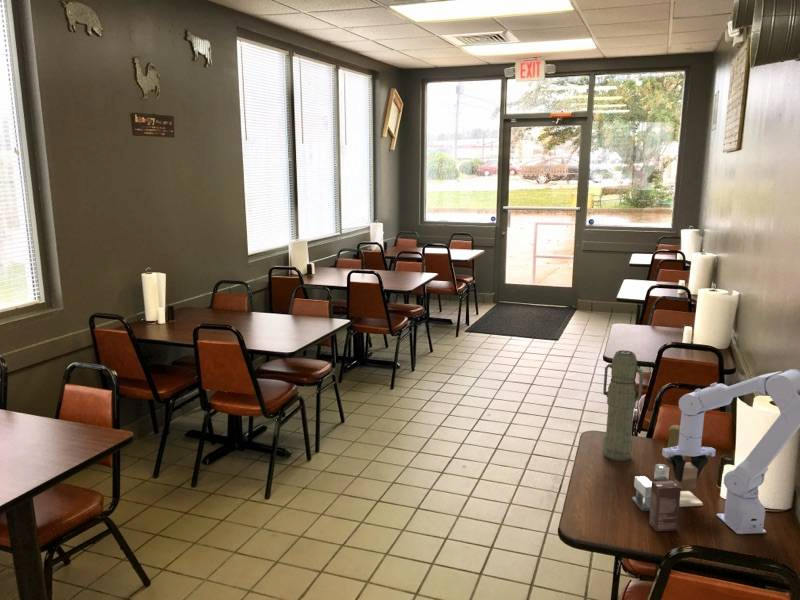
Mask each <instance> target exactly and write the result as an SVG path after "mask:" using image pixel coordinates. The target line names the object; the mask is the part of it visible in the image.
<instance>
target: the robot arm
mask: <svg viewBox="0 0 800 600" xmlns="http://www.w3.org/2000/svg"><path fill="white" fill-rule="evenodd" d="M709 385H710V386H707V387H705V388H702V389H701V388H699V387H698V388H696V389H694V391H692V392H690V393H685V394H684V395H683V396H682V395H681V397H679V399H678V408H679V410H680V411H681V416H680V424H679V426H680V433H679V443H678V446H675V447H670V448H667V447H665V448H662V453H661V455H662V456H663V457H664V458H665V459H666V458H670V460H671V461H670V460H669V461H670V462H671V465H672V469H673V474H674V480H675V479H676V480H677V481H678V482H681V480H682V474H683V469H684V466H685V463H686V460H685V461H684V460H683V458H682V456H685V457H690V463H692V464H693V465H694V466H695V467H697V468H698V471H697V480H696V482H697V481H698V479H699V476H700V474H701V472H702V471H703V469H704V467H705V466H706V465H707V464H708V463H709V458H708V457H709V456H710V457H715V456H716V449H715V448H713V447H712V446H711V447H710V446H702V441H703V439H702V438H703V430H704V420H705V413H706V411H711V410H715V409H717V408H720V407H725V406H728V405H730V404H731V403H732V402H733V399H734V398H737V397H742V396H745V395H749V394H752V393H756V392H758V393H760V394H762V395H763V396H767V395H768V396H769V397H770V398H771V400H772V402H773V403H774V404H775V406H776V407H777V408H778V410H779V413H780V414H779V416H778V417H777V418H776V419H775V420H774V422H773V423H772V424H771V425H770V427H769V428H768V429H767V430H766V432H765V434H764V435H763V436H762V438H761V439H760V440H759V441H758V443H756V445H755V446H754V448H753V449H752V450H751V451H750V453H749V454H748V455H747V457H746V458H745V459H744V460H743V461H742V462H740V463H739V464H738V465H737V466H736V467H735V468H734V469H732V470H730V471H728V472H726V473H725V474H724V476H723V477H724V478H723V484H724V486H725V489H726V496H725V497H726V498H725V505H724V512H723V513H717V514H716V517H718V518H719V519H720V521H722V522H723V523H724V524H725V525H727V526H728V527H729V528H730V529H731V530H732V531H733V532H735V533H736V534H737V535H739V534H740V535H745V534H766V533H767V530H766V529H764V526H765V519H766V518H765V517H766V509H765V506H764V504H763V503H762V502H761V500H760V498H759V487H760V486H761V485H762V484H763V483H764V481H765V475H766V473H767V471H768V470H769V468H768V467H769V466H770V465H771V463H773V461H774V460H775V459H776V457H777V456H778V455H779V453H780V452H781V451H782V450H783V449H784V447H786V445H787V444H788V442H790V440H791V439H792V437H793V436H794V435H795V434H796V433H797V431H798V430H799V429H800V370H799V369H795V368H790V369H786V370H785V371H784V372H783V370H782V371H781V370H779V371H776V372H770V373H765V374H760V375H758V376H755V377H752V378H749V379H747V380H743V381H741V382H740V381H739V382H737V383H735V384H732V385H729V386H728V385H726V384H724V383H718V382H713V383H711V384H709ZM707 456H708V457H707Z"/></svg>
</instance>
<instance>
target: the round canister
mask: <svg viewBox="0 0 800 600" xmlns="http://www.w3.org/2000/svg"><path fill="white" fill-rule="evenodd" d="M653 474H654V477H653V478H654V480H655V481H669V479H670V478H669V477H670V476H669V475H670V466H668V465H667V464H663V463H657V464H655V466H654V473H653Z"/></svg>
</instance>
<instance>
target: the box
mask: <svg viewBox="0 0 800 600" xmlns="http://www.w3.org/2000/svg"><path fill="white" fill-rule="evenodd" d="M651 482H652V486H651V502H650V511H649V517H648V518H649V519H648V521H649V522H648V524H649V525H650V526H651V528H653V530H655V532H666V531H671V532H672V531H679V529H678V528H679V514H680V507H679V505H680V492H681V491H682V489H681V487H680V486H679V485H678V484H676V483H675V480H668V481H657V480H655V481H651Z"/></svg>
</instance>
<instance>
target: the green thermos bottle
mask: <svg viewBox="0 0 800 600" xmlns="http://www.w3.org/2000/svg"><path fill="white" fill-rule="evenodd" d="M609 368H610V369H611V372H610V375H611V378H610V383H609V384H607V382H608V371H609ZM637 373H638V374H639V379H638V389H637V386H636V384H637V382H636V378H637ZM644 374H645V373H644V371H643V369H642V368H639V367H638V359H637V356H636V354H635V353H634V352H632V351H630V350H622V349H621V350H617V351H615V354H614V355H613V358H612V361H611V363H608V364H607V365H605V367H604V377H603V390H602V391H603V396H606V398H607V399H606V403H607V415H606V416H607V417H606V431H605V434H604V436H603V456H604V457H605V456H606V457H605V458H607V459H609V458H610V459H609V460H612V461H615V462H616V461H617V462H625V461H629V460H631V459H632V452H633V444H634V443H633V442H634V440H633V435H632V434H633V433H632V432H633V425H634V424H633V422H634V412H635V411H634V410H635V408H636V405H637V402H638V401H640V400H641V399H642V391H643V384H644V378H645V377H644ZM607 385H608V387H607Z"/></svg>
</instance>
